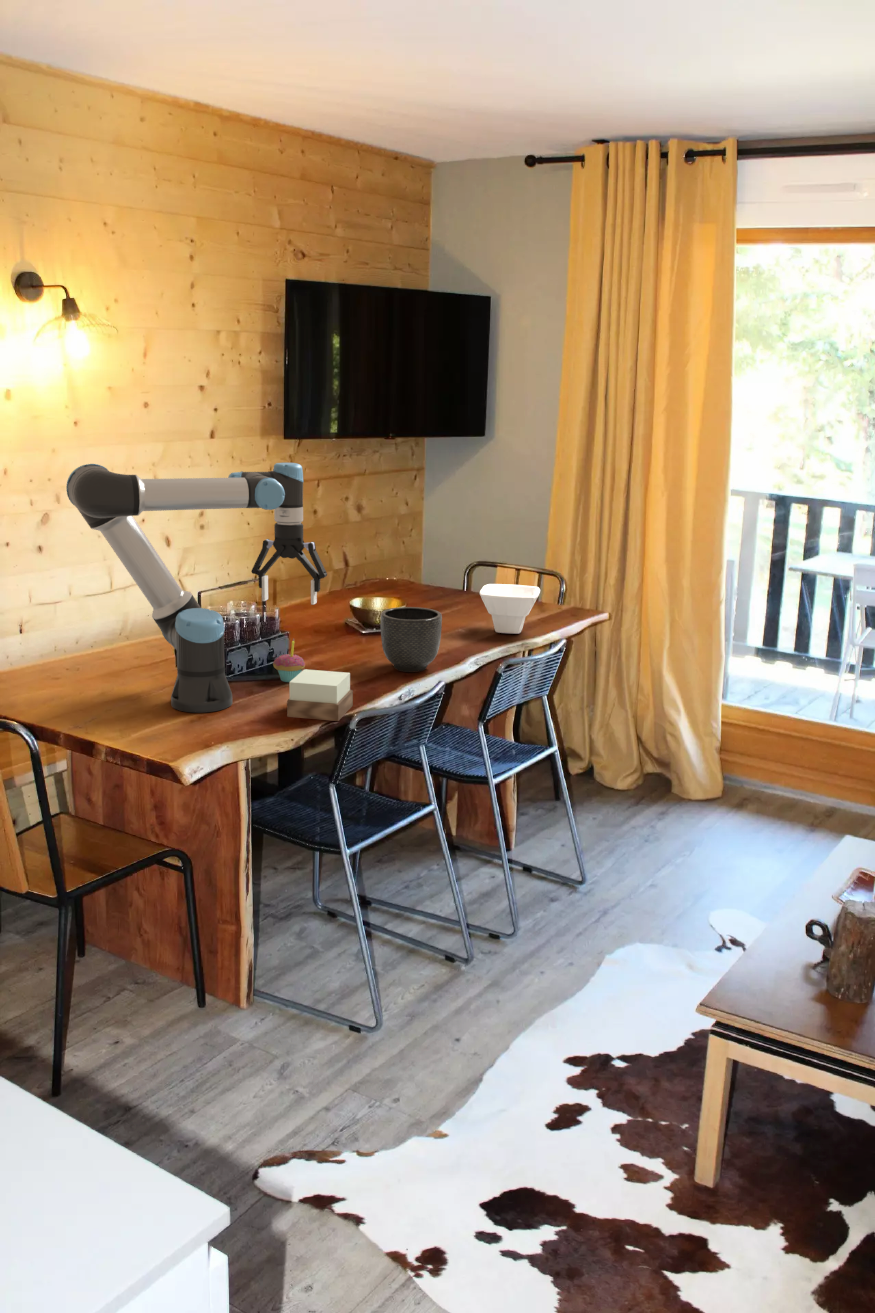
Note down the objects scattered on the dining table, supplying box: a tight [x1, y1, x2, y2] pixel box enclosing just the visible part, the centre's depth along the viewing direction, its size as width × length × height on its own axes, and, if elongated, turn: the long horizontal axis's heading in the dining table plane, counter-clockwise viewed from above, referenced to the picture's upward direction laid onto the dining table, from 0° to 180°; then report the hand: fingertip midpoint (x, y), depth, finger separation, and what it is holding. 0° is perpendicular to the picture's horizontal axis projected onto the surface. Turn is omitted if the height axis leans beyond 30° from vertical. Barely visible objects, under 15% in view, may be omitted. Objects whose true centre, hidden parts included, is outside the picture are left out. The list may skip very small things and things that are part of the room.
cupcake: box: [272, 638, 306, 683], centre depth 313 cm, size 9×8×12 cm
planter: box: [380, 606, 443, 673], centre depth 327 cm, size 17×17×16 cm
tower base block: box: [286, 689, 354, 722], centre depth 288 cm, size 13×13×4 cm
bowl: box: [479, 583, 541, 635], centre depth 372 cm, size 19×19×14 cm
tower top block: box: [288, 668, 351, 704], centre depth 288 cm, size 12×12×4 cm
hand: (289, 602), depth 309 cm, fingers open, 13 cm apart
